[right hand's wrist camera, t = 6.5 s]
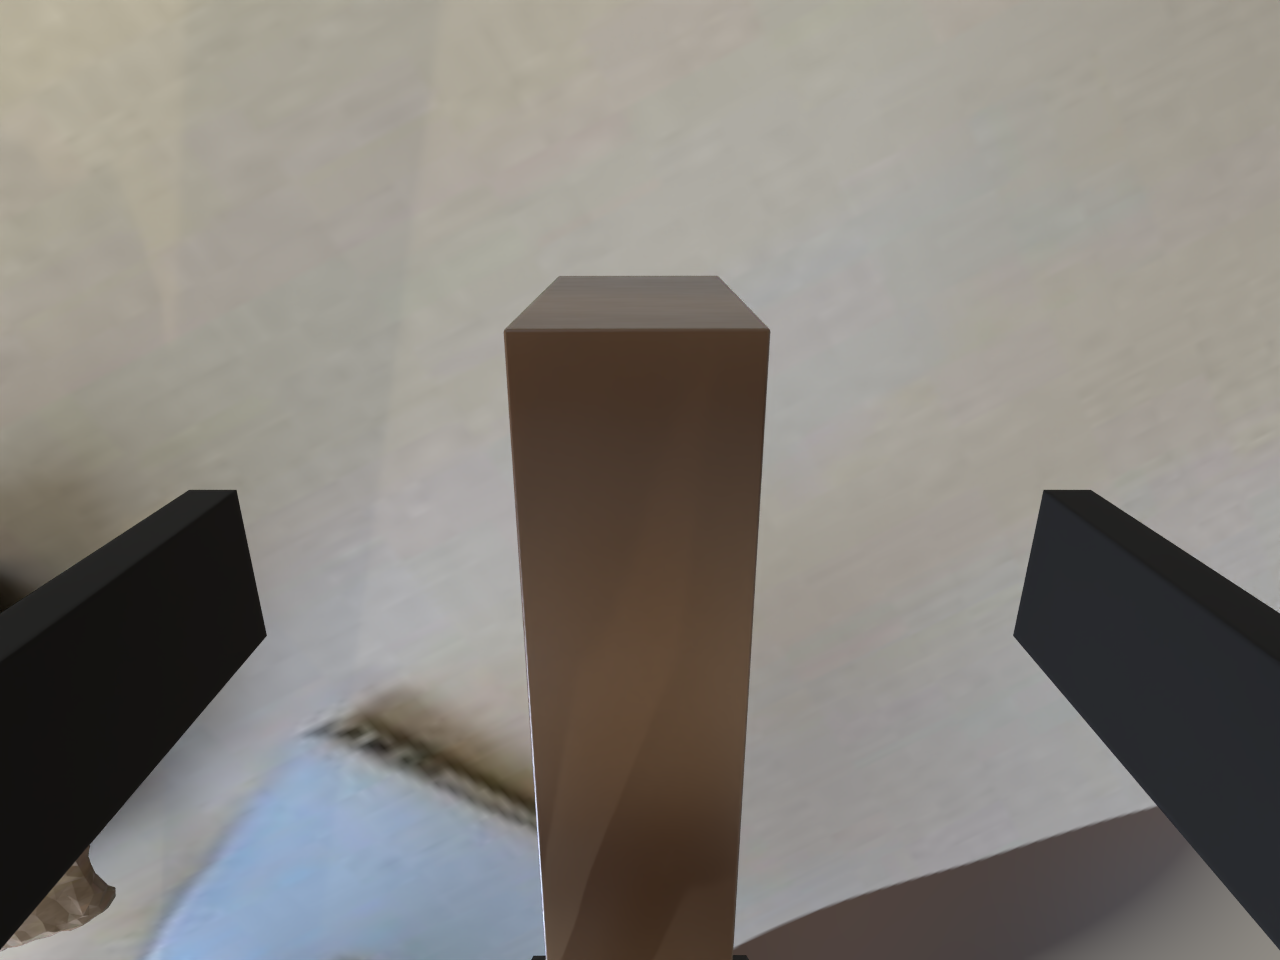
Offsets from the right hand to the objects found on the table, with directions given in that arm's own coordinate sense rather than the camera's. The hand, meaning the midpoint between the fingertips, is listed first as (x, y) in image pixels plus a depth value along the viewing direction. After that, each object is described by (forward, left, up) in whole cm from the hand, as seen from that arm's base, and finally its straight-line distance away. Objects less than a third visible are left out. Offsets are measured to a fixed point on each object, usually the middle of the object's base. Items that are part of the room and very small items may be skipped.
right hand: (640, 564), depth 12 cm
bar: (+2, +8, -10) cm, 14 cm away
